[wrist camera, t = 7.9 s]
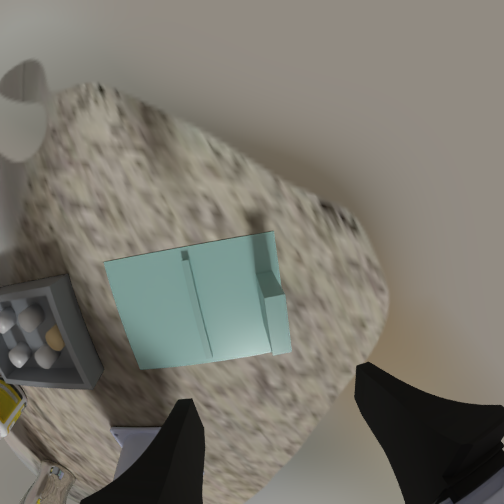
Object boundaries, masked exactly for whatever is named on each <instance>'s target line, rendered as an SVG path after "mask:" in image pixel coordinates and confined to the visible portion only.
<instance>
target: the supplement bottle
mask: <svg viewBox="0 0 504 504" xmlns="http://www.w3.org/2000/svg"><path fill="white" fill-rule="evenodd" d="M26 406H27V399H26V396H25V394H24V392H23V391H22V389H21V388H20V387H19V386H18V385H16V384H8V383H6V382H5V381H4V379H3V377H2V376H0V439H1V437H5V436H7V434H8V433H9V431H10V430H11V428H12V427H13V425H14V424H15V422H16V420H17V419H18V418H19V416H20V415H21V413H22V412H23V410H24V409H25V407H26Z"/></svg>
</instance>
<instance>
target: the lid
mask: <svg viewBox="0 0 504 504" xmlns="http://www.w3.org/2000/svg"><path fill="white" fill-rule="evenodd" d="M104 265H105V269H106V272H107V276H108V280H109V283H110V286H111V290H112V293H113V296H114V299H115V303H116V306H117V309H118V312H119V315H120V318H121V321H122V323H123V326H124V329H125V332H126V335H127V337H128V340H129V343H130V345H131V348H132V350H133V353H134V355H135V358H136V360H137V363H138V365H139V368H140V370H145V369H157V368H168V367H177V366H186V365H195V364H202V363H210V362H217V361H224V360H230V359H236V358H242V357H248V356H254V355H259V354H265V353H270V352H272V354H273V356H274V355H279V354H284V353H288V352H292V350H291V341H290V332H289V323H288V315H287V307H286V299H285V293H284V292H283V290H282V288H281V281H280V274H279V266H278V259H277V252H276V244H275V237H274V231H272V232H266V233H260V234H254V235H248V236H242V237H237V238H231V239H225V240H220V241H214V242H208V243H203V244H197V245H192V246H186V247H181V248H175V249H170V250H165V251H159V252H154V253H149V254H143V255H138V256H133V257H128V258H122V259H117V260H112V261H107V262H104Z"/></svg>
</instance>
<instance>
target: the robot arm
mask: <svg viewBox="0 0 504 504" xmlns="http://www.w3.org/2000/svg"><path fill="white" fill-rule="evenodd" d="M354 397H355V400H356V403H357V405H358V407H359V410H360V412H361V414H362V416H363V418H364V419H365V421H366V422H367V424H368V426H369V427H370V429H371V430H372V432H373V434H374V435H375V437H376V438H377V440H378V442H379V443H380V445H381V446H382V448H383V450H384V452H385V453H386V455H387V458H388V459H389V462H390V464H391V466H392V469H393V471H394V473H395V476H396V478H397V481H398V483H399V486H400V489H401V491H402V495H403V497H404V501H405V504H504V451H503V450H502V448H503V447H504V444H503V443H502V442H501V440H502V438H503V437H504V407H503V406H502V405H477V404H468V403H462V402H457V401H452V400H448V399H444V398H441V397H437V396H435V395H432V394H429V393H426V392H424V391H422V390H419V389H417V388H415V387H413V386H411V385H409V384H406V383H405V382H403V381H401V380H399V379H397V378H395V377H394V376H392V375H390V374H389V373H387V372H385V371H383V370H382V369H380V368H378V367H377V366H375V365H373V364H372V363H370V362H366V363H363V364H360V365H357V366H356V381H355V395H354ZM110 432H111V433H112V435H113V436H114V437H115V439H116V440H117V442H118V443H119V445H120V446H121V447H122V450H121V454H120V457H119V461H118V464H117V468H116V472H115V475H114V479H113V482H111V483H110V484H108V485H107V486H105V487H104V488H102V489H101V490H99V491H98V492H96V493H94V494H92V495H90V496H88V497H86V498H85V499H82V500H81V502H80V504H203V500H202V484H203V475H204V457H205V436H204V427H203V425H202V422H201V420H200V417H199V415H198V412H197V410H196V407H195V405H194V402H193V400H192V398H191V399H180V400H178V401H177V402H176V404H175V406H174V408H173V409H172V411H171V413H170V415H169V416H168V418H167V420H166V421H165V423H164V424H163V426H162V427H111V429H110Z"/></svg>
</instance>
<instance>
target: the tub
mask: <svg viewBox="0 0 504 504" xmlns="http://www.w3.org/2000/svg"><path fill="white" fill-rule="evenodd" d="M103 371H104V368H103V365H102V363H101V361H100V359H99V357H98V354H97V352H96V350H95V347H94V345H93V343H92V340H91V338H90V335H89V333H88V330H87V328H86V325H85V323H84V320H83V317H82V314H81V312H80V309H79V306H78V303H77V300H76V297H75V294H74V291H73V288H72V285H71V281H70V278H69V275H68V274H63V275H58V276H53V277H48V278H43V279H38V280H33V281H28V282H23V283H18V284H13V285H8V286H4V287H0V373H1V375H2V377H3V379H4V381H5V382H6V383H8V384H16V385H25V386H34V387H46V388H61V389H90V390H93V389H94V387H95V385H96V383H97V381H98V380H99V378H100V376H101V374H102V372H103Z"/></svg>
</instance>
